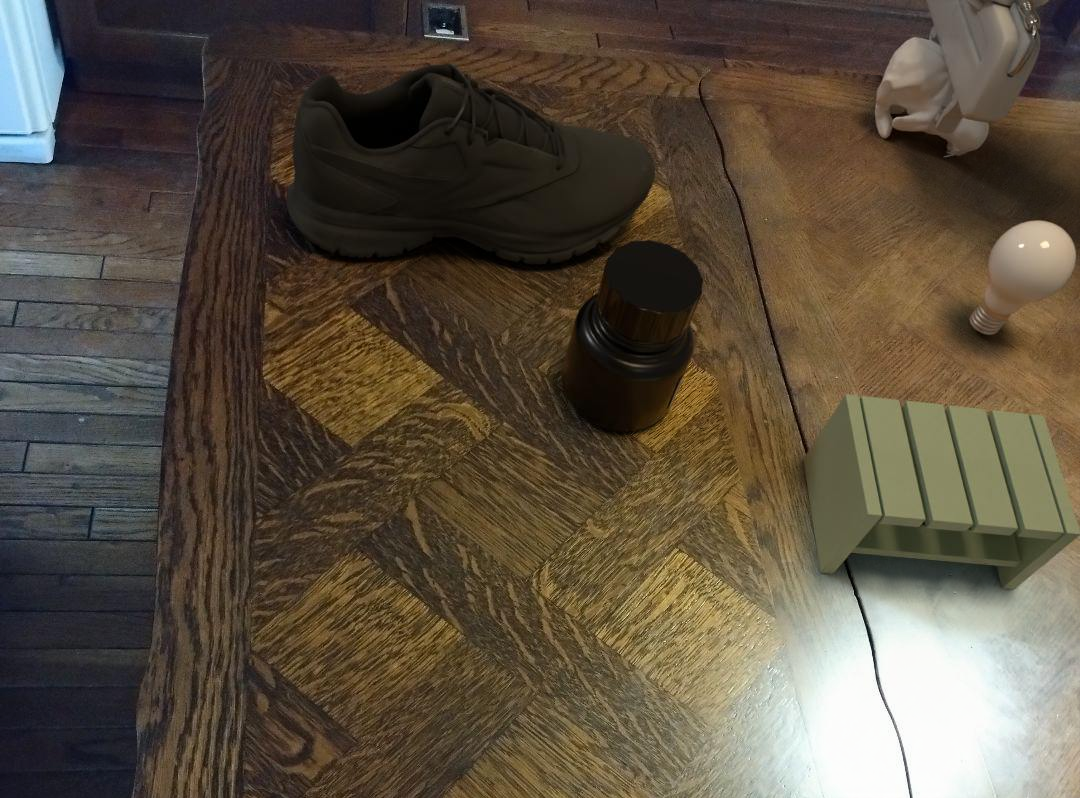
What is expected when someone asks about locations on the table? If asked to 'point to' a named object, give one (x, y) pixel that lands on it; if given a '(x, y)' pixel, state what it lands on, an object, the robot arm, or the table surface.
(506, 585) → the table surface
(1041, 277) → the lightbulb
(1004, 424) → the stool
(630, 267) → the ink bottle
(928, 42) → the white animal figurine
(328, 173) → the running shoe
